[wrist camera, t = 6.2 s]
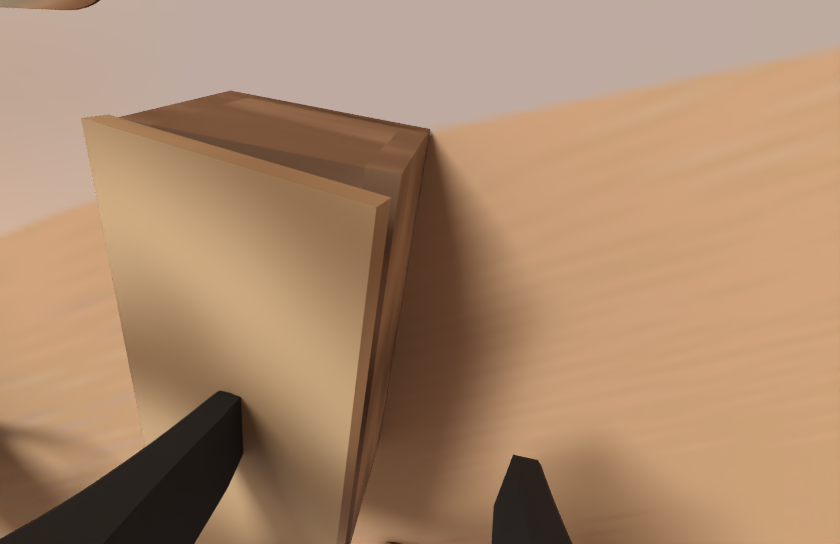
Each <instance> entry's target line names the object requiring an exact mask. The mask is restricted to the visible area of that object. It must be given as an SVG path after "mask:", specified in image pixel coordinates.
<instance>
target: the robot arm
mask: <svg viewBox="0 0 840 544" xmlns="http://www.w3.org/2000/svg"><path fill="white" fill-rule="evenodd" d="M242 456H243V433H242V411H241V397H240V396H237V395H234V394H232V393H229V392H224V391H220V390H219V391H218V392H216V393H215V394H213V395H212V396H211V397H209V398H208V399H207V400H206V401H204V402H203V403H202V404H201V405H199V406H198V407H197V408H196V409H194V410H193V411H192V412H191V413H189V414H188V415H187V416H185V417H184V418H183V419H182V420H180V421H179V422H178V423H176V424H175V425H174V426H173V427H171V428H170V429H169V430H167V431H166V432H165V433H163V434H162V435H161V436H159V437H158V438H157V439H155V440H154V441H153V442H151V443H150V444H149V445H147V446H146V447H145V448H143V449H142V450H141V451H139V452H138V453H136V454H135V455H134V456H132V457H131V458H130V459H128V460H127V461H125V462H124V463H122V464H121V465H119V466H118V467H116V468H115V469H114V470H112V471H111V472H109V473H108V474H106V475H105V476H103V477H102V478H100V479H99V480H97V481H96V482H95V483H93V484H92V485H90V486H88V487H87V488H85V489H84V490H82V491H81V492H79V493H78V494H76V495H74V496H73V497H71V498H70V499H68V500H66V501H65V502H63V503H62V504H60V505H58V506H57V507H55V508H53V509H52V510H50V511H48V512H47V513H45V514H43V515H42V516H40V517H38V518H37V519H35V520H33V521H31V522H29V523H28V524H26V525H24V526H22V527H21V528H19V529H17V530H15V531H13V532H12V533H10V534H8V535H6V536H5V537H3V538H1V539H0V544H195V542H196V540H197V539H198V537H199V535H200V534H201V532H202V530H203V529H204V527H205V525H206V524H207V522H208V521H209V519H210V517H211V515H212V514H213V512H214V510H215V509H216V507H217V505H218V504H219V502H220V500H221V499H222V497H223V495H224V494H225V492H226V490H227V488H228V486H229V484H230V482H231V480H232V478H233V476H234V474H235V471H236V469H237V467H238V465H239V462H240V460H241V458H242ZM386 544H390V543H386ZM492 544H572V542H571V539H570V537H569V535H568V533H567V531H566V528H565V526H564V523H563V521H562V519H561V516H560V514H559V511H558V509H557V506H556V504H555V502H554V499H553V496H552V494H551V491H550V489H549V486H548V483H547V481H546V478H545V475H544V472H543V469H542V467H541V464H540V463H539V461H538V460H535V459H530V458H526V457H521V456H516V455H513V457H512V459H511V462H510V465H509V467H508V470H507V472H506V475H505V478H504V480H503V483H502V486H501V488H500V491H499V494H498V496H497V499H496V501H495V504H494V512H493V529H492Z"/></svg>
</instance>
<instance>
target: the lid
mask: <svg viewBox="0 0 840 544" xmlns="http://www.w3.org/2000/svg"><path fill="white" fill-rule="evenodd" d="M82 125H83V130H84V135H85V140H86V145H87V150H88V156H89V161H90V166H91V171H92V176H93V181H94V186H95V191H96V197H97V202H98V207H99V212H100V217H101V223H102V228H103V233H104V238H105V243H106V248H107V253H108V259H109V264H110V269H111V274H112V279H113V284H114V289H115V295H116V300H117V305H118V310H119V315H120V320H121V326H122V331H123V336H124V341H125V346H126V351H127V356H128V362H129V367H130V372H131V377H132V382H133V387H134V392H135V398H136V403H137V408H138V413H139V418H140V423H141V428H142V434H143V439H144V444H145V447H146V446H147V445H149V444H150V443H151V442H153V441H154V440H155V439H157V438H158V437H159V436H161V435H162V434H163V433H165V432H166V431H167V430H169V429H170V428H171V427H173V426H174V425H175V424H176V423H178V422H179V421H180V420H182V419H183V418H184V417H185V416H187V415H188V414H189V413H191V412H192V411H193V410H194V409H196V408H197V407H198V406H199V405H201V404H202V403H203V402H204V401H206V400H207V399H208V398H209V397H211V396H212V395H213V394H215V393H216V392H218V391H219V390H220V391H224V392H229V393H232V394H234V395H237V396H240V397H241V411H242V433H243V456H242V458H241V460H240V462H239V465H238V467H237V469H236V471H235V474H234V476H233V478H232V480H231V482H230V484H229V486H228V488H227V490H226V492H225V494H224V495H223V497H222V499H221V500H220V502H219V504H218V505H217V507H216V509H215V510H214V512H213V514H212V515H211V517H210V519H209V521H208V522H207V524H206V525H205V527H204V529H203V530H202V532H201V534H200V535H199V537H198V539H197V540H196V542H195V544H345V542H346V534H347V527H348V519H349V512H350V504H351V497H352V489H353V482H354V474H355V467H356V459H357V452H358V444H359V437H360V429H361V422H362V414H363V407H364V399H365V392H366V384H367V377H368V369H369V362H370V354H371V347H372V339H373V332H374V324H375V317H376V309H377V302H378V294H379V287H380V279H381V272H382V264H383V257H384V249H385V242H386V234H387V227H388V220H389V212H390V205H391V197H388V196H384V195H381V194H377V193H374V192H371V191H367V190H364V189H360V188H357V187H354V186H350V185H347V184H343V183H340V182H336V181H333V180H330V179H326V178H323V177H319V176H316V175H313V174H309V173H306V172H302V171H299V170H296V169H292V168H289V167H285V166H282V165H278V164H275V163H272V162H268V161H265V160H261V159H258V158H255V157H251V156H248V155H244V154H241V153H238V152H234V151H231V150H227V149H224V148H220V147H217V146H214V145H210V144H207V143H203V142H200V141H197V140H193V139H190V138H186V137H183V136H180V135H176V134H173V133H169V132H166V131H162V130H159V129H156V128H152V127H149V126H145V125H142V124H139V123H135V122H132V121H128V120H125V119H122V118H118V117H114V116H111V115H103V116H95V117H87V118H82Z"/></svg>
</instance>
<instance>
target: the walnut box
mask: <svg viewBox="0 0 840 544" xmlns="http://www.w3.org/2000/svg"><path fill="white" fill-rule="evenodd" d="M118 118H122V119H125V120H128V121H132V122H135V123H139V124H142V125H145V126H149V127H152V128H156V129H159V130H162V131H166V132H169V133H173V134H176V135H180V136H183V137H186V138H190V139H193V140H197V141H200V142H203V143H207V144H210V145H214V146H217V147H220V148H224V149H227V150H231V151H234V152H238V153H241V154H244V155H248V156H251V157H255V158H258V159H261V160H265V161H268V162H272V163H275V164H278V165H282V166H285V167H289V168H292V169H296V170H299V171H302V172H306V173H309V174H313V175H316V176H319V177H323V178H326V179H330V180H333V181H336V182H340V183H343V184H347V185H350V186H354V187H357V188H360V189H364V190H367V191H371V192H374V193H377V194H381V195H384V196H388V197H391V205H390V212H389V220H388V227H387V234H386V242H385V249H384V257H383V264H382V272H381V279H380V287H379V294H378V302H377V309H376V317H375V324H374V332H373V339H372V347H371V354H370V362H369V369H368V377H367V384H366V392H365V399H364V407H363V414H362V422H361V429H360V437H359V444H358V452H357V459H356V467H355V474H354V482H353V489H352V497H351V504H350V512H349V519H348V527H347V534H346V542H345V544H350V543H351V540H352V536H353V533H354V529H355V525H356V522H357V518H358V515H359V511H360V507H361V504H362V500H363V497H364V493H365V490H366V486H367V482H368V479H369V475H370V472H371V468H372V464H373V461H374V457H375V454H376V450H377V446H378V443H379V438H380V432H381V425H382V419H383V413H384V407H385V401H386V395H387V389H388V383H389V377H390V371H391V364H392V358H393V352H394V346H395V340H396V334H397V328H398V322H399V316H400V310H401V303H402V297H403V291H404V285H405V279H406V273H407V267H408V261H409V255H410V249H411V242H412V236H413V230H414V224H415V218H416V212H417V206H418V200H419V194H420V188H421V181H422V175H423V169H424V163H425V157H426V151H427V145H428V139H429V133H430V129H426V128H421V127H416V126H411V125H405V124H400V123H395V122H390V121H385V120H380V119H374V118H369V117H364V116H359V115H353V114H348V113H343V112H338V111H333V110H328V109H323V108H317V107H312V106H307V105H301V104H297V103H291V102H286V101H281V100H276V99H271V98H265V97H260V96H255V95H250V94H244V93H239V92H234V91H227V92H223V93H219V94H215V95H211V96H207V97H202V98H198V99H194V100H190V101H186V102H181V103H177V104H173V105H169V106H164V107H160V108H156V109H152V110H148V111H143V112H140V113H135V114H131V115H127V116H122V117H118Z"/></svg>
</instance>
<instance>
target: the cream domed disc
mask: <svg viewBox="0 0 840 544" xmlns="http://www.w3.org/2000/svg"><path fill="white" fill-rule="evenodd" d="M99 1H100V0H0V7H7V8H31V9H55V10H79V9H82V8H87V7H89V6H92V5H94V4H96V3H97V2H99Z"/></svg>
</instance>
